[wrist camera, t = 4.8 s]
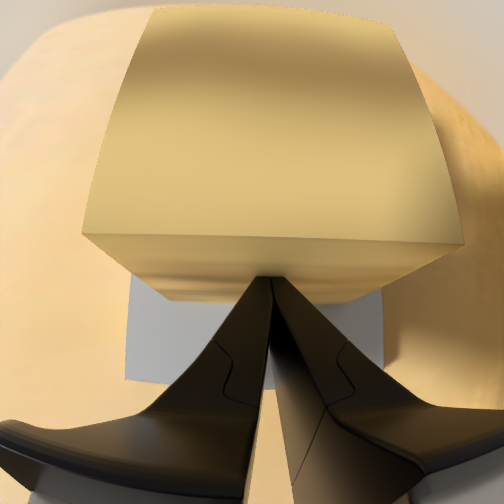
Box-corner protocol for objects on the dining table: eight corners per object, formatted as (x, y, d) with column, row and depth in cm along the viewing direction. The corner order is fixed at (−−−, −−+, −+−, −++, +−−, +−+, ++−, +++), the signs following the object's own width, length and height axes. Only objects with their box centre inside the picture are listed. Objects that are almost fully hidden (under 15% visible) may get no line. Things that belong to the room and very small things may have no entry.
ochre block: (344, 304, 15) (464, 244, 6) (170, 301, 14) (81, 233, 6) (332, 156, 17) (390, 25, 8) (185, 150, 17) (154, 9, 8)
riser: (367, 380, 15) (383, 383, 14) (137, 376, 15) (124, 379, 13) (359, 204, 18) (371, 189, 16) (153, 196, 18) (145, 179, 16)
